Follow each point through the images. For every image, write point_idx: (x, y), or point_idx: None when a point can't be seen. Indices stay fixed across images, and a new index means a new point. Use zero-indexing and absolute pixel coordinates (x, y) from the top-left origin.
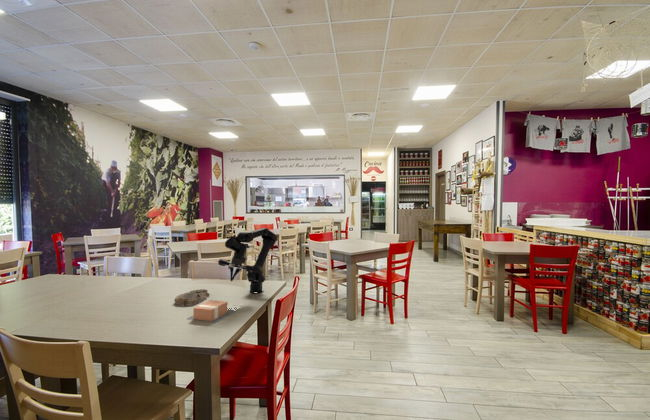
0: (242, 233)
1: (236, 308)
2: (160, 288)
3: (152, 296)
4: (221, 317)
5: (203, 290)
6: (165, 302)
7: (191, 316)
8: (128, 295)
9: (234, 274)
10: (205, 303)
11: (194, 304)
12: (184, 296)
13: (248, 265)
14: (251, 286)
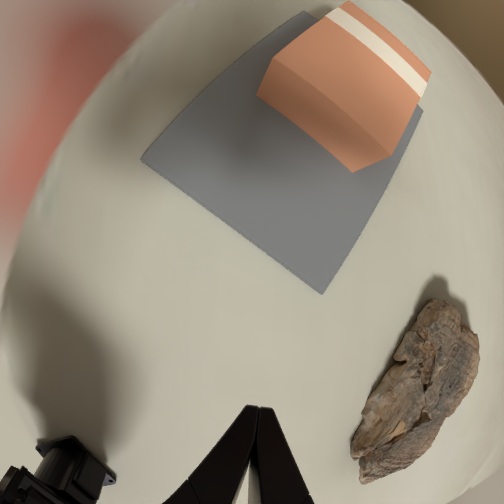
0: None
1: (192, 138)
2: (443, 490)
3: (478, 426)
4: (286, 43)
5: (393, 453)
6: None
7: (414, 127)
8: (498, 426)
9: (214, 501)
10: (404, 101)
11: (425, 306)
12: (468, 358)
13: None
14: (88, 483)
